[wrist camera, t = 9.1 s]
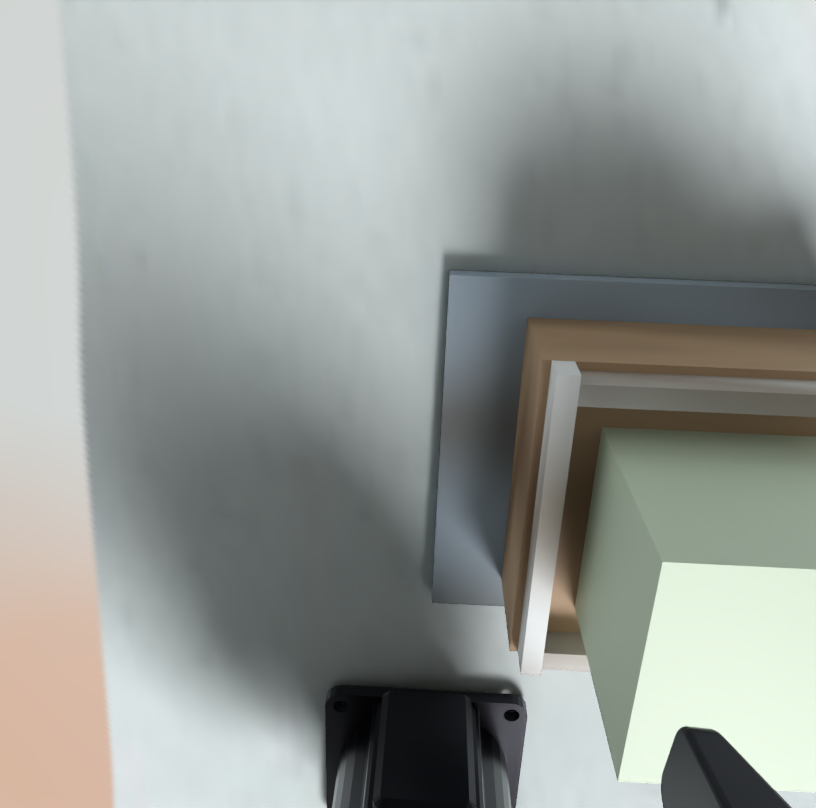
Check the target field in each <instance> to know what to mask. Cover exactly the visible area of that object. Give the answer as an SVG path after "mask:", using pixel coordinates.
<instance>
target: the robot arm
mask: <svg viewBox="0 0 816 808" xmlns="http://www.w3.org/2000/svg"><path fill="white" fill-rule="evenodd" d="M338 700H342V701H345V702H344V703H342V702H338ZM508 710H515V711H512V712H508ZM325 712H326V767H327V808H515V807H516V799H517V792H518V784H519V776H520V768H521V761H522V753H523V745H524V737H525V730H526V722H527V711H526V704H525V701H524V700H523V698H521V697H519V696H518V695H513V694H497V693H478V692H460V691H441V690H423V689H404V688H386V687H367V686H349V685H339V686H335V687H332V688H331V689H330V690H329V691H328V694H327V699H326V705H325ZM661 795H662V802H663V808H791V806H790V805H789V804H788V803H787V802H786V801H785V800H784V799H783V798H782V797H781V796H780V795H779V794H778V793H777V792H776V791H775V790H774V789H773V788H772V787H771V786H770V785H769V784H768V783H767V781H766V780H765V779H764V778H763V777H762V776H761V775H760V774H759V773H758V772H757V771H756V770H755V769H754V768H753V767H752V766H751V765H750V764H749V763H748V762H747V761H746V760H745V759H744V757H743V756H742V755H741V754H740V753H739V752H738V751H737V750H736V749H735V748H734V747H733V746H732V745H731V744H730V743H729V742H728V741H727V740H726V739H725V738H724V737H723V736H722V735H721V734H720V733H719V732H717V731H716V730H713V729H708V728H699V727H689V726H684V727H681V728H680V729H679V730H678V731H677V733H676V735H675V738H674V741H673V744H672V747H671V749H670V752H669V755H668V758H667V761H666V764H665V767H664V770H663V773H662V779H661Z"/></svg>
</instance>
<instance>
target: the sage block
mask: <svg viewBox="0 0 816 808" xmlns="http://www.w3.org/2000/svg"><path fill="white" fill-rule="evenodd" d="M575 611H576V615H577V619H578V623H579V627H580V631H581V635H582V639H583V643H584V647H585V651H586V655H587V659H588V663H589V667H590V671H591V676H592V680H593V684H594V688H595V692H596V696H597V700H598V704H599V708H600V712H601V716H602V720H603V724H604V728H605V732H606V736H607V740H608V744H609V748H610V752H611V756H612V760H613V764H614V768H615V772H616V776H617V780H618V782H636V783H654V784H661V779H662V773H663V770H664V767H665V764H666V761H667V758H668V755H669V752H670V749H671V747H672V744H673V741H674V738H675V735H676V733H677V731H678V730H679V729H680V728H681V727H684V726H689V727H699V728H708V729H713V730H716V731H717V732H719V733H720V734H721V735H722V736H723V737H724V738H725V739H726V740H727V741H728V742H729V743H730V744H731V745H732V746H733V747H734V748H735V749H736V750H737V751H738V752H739V753H740V754H741V755H742V756H743V757H744V759H745V760H746V761H747V762H748V763H749V764H750V765H751V766H752V767H753V768H754V769H755V770H756V771H757V772H758V773H759V774H760V775H761V776H762V777H763V778H764V779H765V780H766V781H767V783H768V784H769V785H770V786H771V787H772V788H773V789H774V790H778V791H796V792H814V793H816V437H812V436H790V435H768V434H745V433H723V432H701V431H679V430H657V429H634V428H612V427H602V431H601V437H600V444H599V450H598V457H597V464H596V470H595V477H594V484H593V490H592V497H591V503H590V510H589V517H588V523H587V530H586V536H585V543H584V550H583V556H582V563H581V570H580V576H579V583H578V589H577V596H576V603H575Z"/></svg>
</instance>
